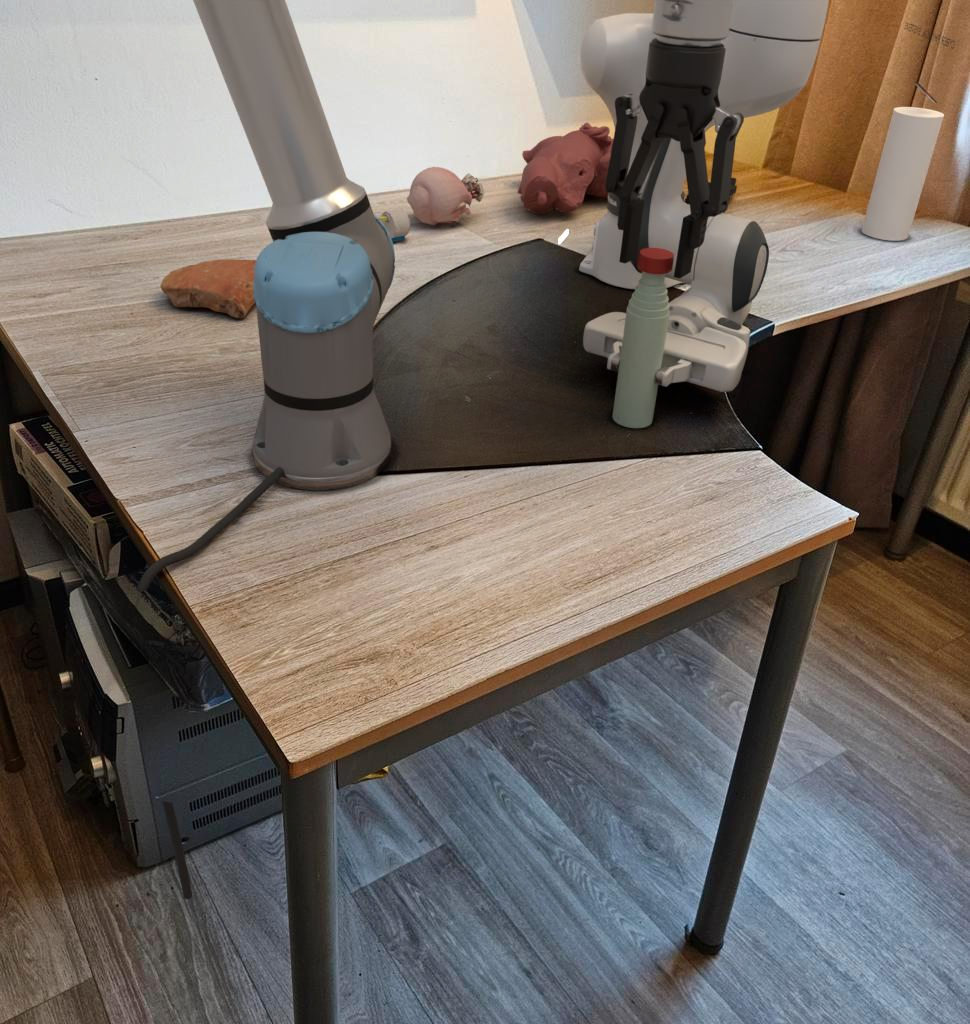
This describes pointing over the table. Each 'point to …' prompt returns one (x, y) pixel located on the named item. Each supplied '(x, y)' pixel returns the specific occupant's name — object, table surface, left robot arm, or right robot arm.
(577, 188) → the red pig head
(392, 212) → the electric motor
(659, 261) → the cap
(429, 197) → the toy
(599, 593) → the table surface
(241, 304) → the ceramic shard
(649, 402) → the bottle
